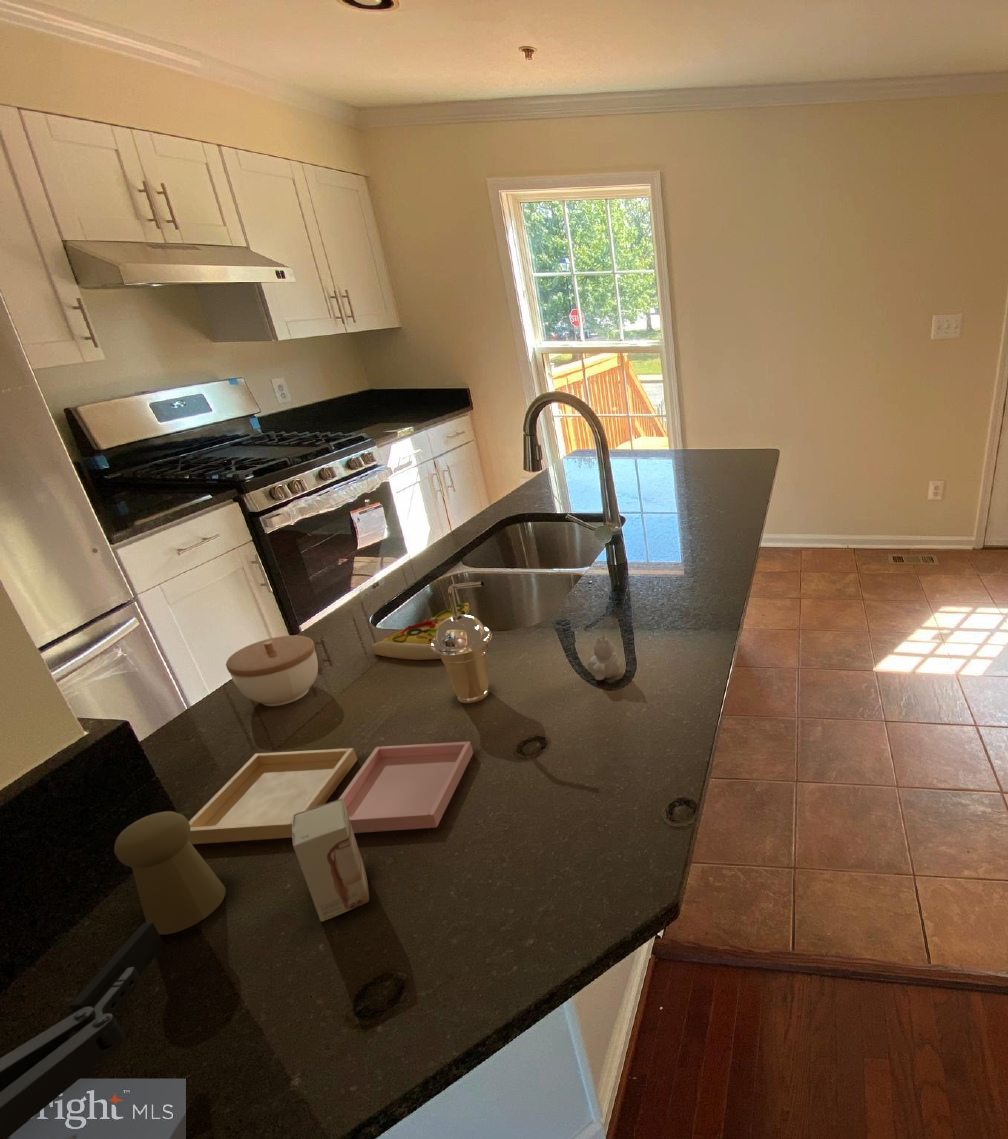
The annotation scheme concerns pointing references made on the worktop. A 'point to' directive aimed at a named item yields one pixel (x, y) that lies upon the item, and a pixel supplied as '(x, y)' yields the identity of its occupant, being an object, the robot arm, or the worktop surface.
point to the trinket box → (275, 669)
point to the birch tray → (270, 795)
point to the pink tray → (405, 786)
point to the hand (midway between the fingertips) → (63, 941)
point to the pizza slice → (415, 638)
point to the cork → (169, 872)
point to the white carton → (330, 859)
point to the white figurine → (604, 660)
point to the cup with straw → (464, 650)
